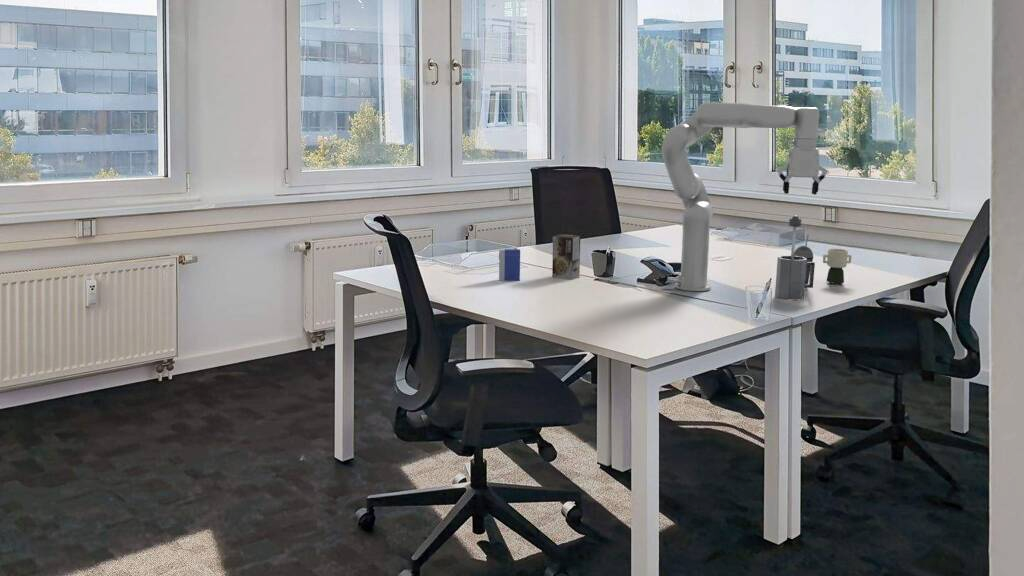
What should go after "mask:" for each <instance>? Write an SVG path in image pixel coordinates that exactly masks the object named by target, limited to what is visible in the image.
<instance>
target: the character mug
mask: <svg viewBox="0 0 1024 576" xmlns="http://www.w3.org/2000/svg"><path fill="white" fill-rule="evenodd" d="M822 263H823V264H826V265H827V266H828V267H829V269H828V273H827V276H826V282H827V283H830V284H831V285H832V284H835V285H836V284H837V285H838V284H844V283H845V273H844V272H845V271H844V268H846V267H847V264H851V263H852V254H849V253H848V250H847V249H843V248H829V249H828V250H827V254H824V255H823V256H822Z"/></svg>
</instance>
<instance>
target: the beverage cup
mask: <svg viewBox="0 0 1024 576" xmlns="http://www.w3.org/2000/svg"><path fill="white" fill-rule="evenodd" d="M809 236H810V235H809V234H807V235H806V240H805V245H800V246H798V247H797V248H795V250H794V256H799V257H804V258H806V259H807V262H814V253H813V250H812V249H811V248H810V247H809V246H808V240H809ZM810 267H811V265H807V268H806V281H805V284H809V279H810Z"/></svg>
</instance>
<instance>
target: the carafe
mask: <svg viewBox="0 0 1024 576" xmlns="http://www.w3.org/2000/svg"><path fill="white" fill-rule="evenodd" d="M776 261H777V262H776V274H775V287H774V289H775V291H774V297H776V298H777V297H778V298H777V299H781V298H783V299H782V300H787V299H800V300H802V298H803V299H805V291H806V289H809V288H810V289H812V288H813V287H814V278H815V266H816V264H815V263H816V262H815V261H812V262H807V259H806V258H804V257H799V256H794V260H791V255H780V256H777V259H776ZM807 265H811V267H810V275H809V281H808V284H805V281H806V268H807ZM805 288H806V289H805Z"/></svg>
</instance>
